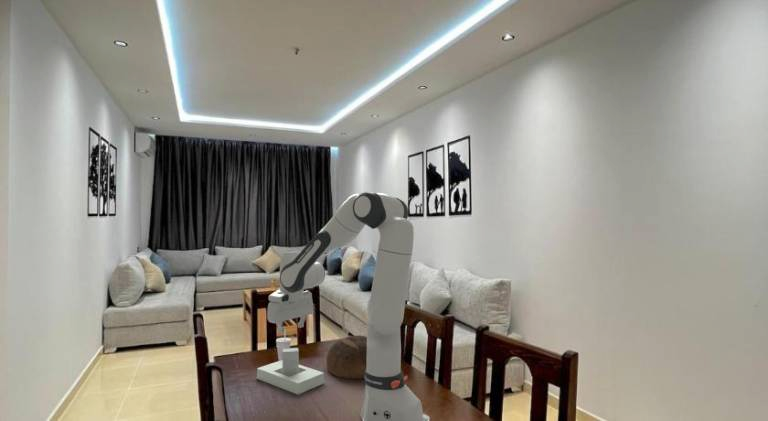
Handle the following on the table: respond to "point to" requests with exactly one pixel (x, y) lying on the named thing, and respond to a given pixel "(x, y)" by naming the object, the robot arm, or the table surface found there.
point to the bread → (348, 357)
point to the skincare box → (290, 361)
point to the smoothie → (282, 345)
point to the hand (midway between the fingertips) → (291, 330)
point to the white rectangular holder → (290, 378)
